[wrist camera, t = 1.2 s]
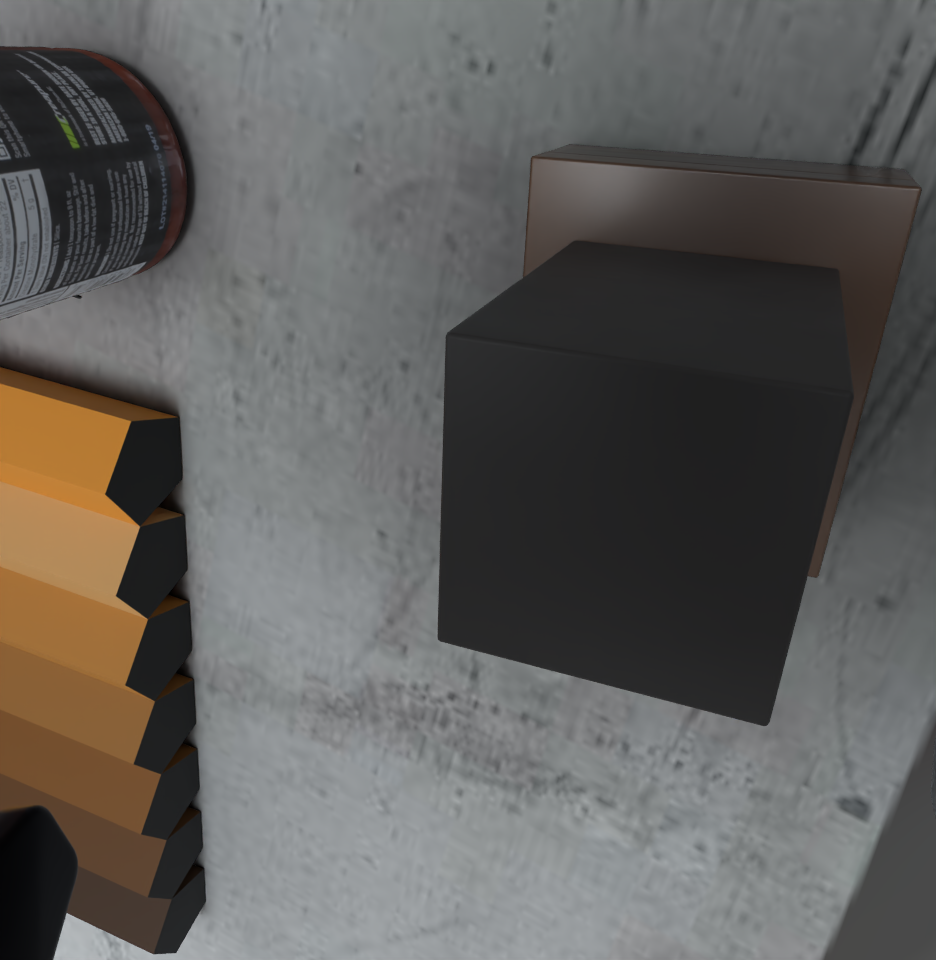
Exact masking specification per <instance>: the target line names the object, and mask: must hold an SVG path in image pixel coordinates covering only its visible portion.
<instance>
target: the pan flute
mask: <svg viewBox="0 0 936 960" xmlns="http://www.w3.org/2000/svg"><path fill="white" fill-rule="evenodd" d="M181 480H182V470H181V452H180V434H179V417H176V416H172V415H169V414H165V413H162V412H158V411H155V410H151V409H148V408H144V407H140V406H137V405H133V404H130V403H126V402H123V401H119V400H116V399H112V398H108V397H105V396H101V395H98V394H94V393H91V392H87V391H84V390H80V389H76V388H73V387H69V386H66V385H62V384H59V383H55V382H52V381H48V380H44V379H41V378H37V377H34V376H30V375H27V374H23V373H20V372H16V371H12V370H9V369H5V368H2V367H0V811H1V810H3V809H5V808H9V807H14V806H26V805H42V806H44V807H46V808H47V809H48V810H49V811H50V812H51V814H52V815H53V817H54V818H55V820H56V821H57V823H58V824H59V826H60V828H61V829H62V831H63V832H64V834H65V835H66V837H67V838H68V840H69V841H70V843H71V845H72V846H73V848H74V849H75V851H76V854H77V858H78V874H77V878H76V882H75V885H74V889H73V892H72V896H71V899H70V903H69V906H68V910H67V913H68V914H70V915H72V916H74V917H76V918H79V919H81V920H83V921H85V922H87V923H89V924H91V925H93V926H95V927H97V928H100V929H102V930H104V931H106V932H108V933H110V934H112V935H114V936H116V937H118V938H120V939H123V940H125V941H127V942H129V943H131V944H133V945H135V946H137V947H139V948H141V949H144V950H146V951H148V952H150V953H152V954H166V953H176V952H177V951H178V949H179V947H180V945H181V944H182V942H183V940H184V938H185V937H186V935H187V933H188V931H189V930H190V928H191V926H192V924H193V923H194V921H195V919H196V917H197V916H198V914H199V912H200V910H201V909H202V907H203V905H204V903H205V885H204V869H203V868H200V867H198V866H196V865H193V863H194V861H195V859H196V858H197V856H198V854H199V853H200V851H201V849H202V831H201V812H199V811H197V810H195V809H192V808H190V807H188V806H189V804H190V802H191V801H192V799H193V798H194V796H195V794H196V793H197V791H198V790H199V776H198V758H197V749H196V748H193V747H191V746H188V745H185V744H183V741H184V740H185V738H186V737H187V735H188V734H189V732H190V731H191V729H192V728H193V726H194V725H195V723H196V722H195V704H194V686H193V679H191V678H188V677H185V676H183V675H180V674H177V673H176V672H177V670H178V669H179V667H180V666H181V665H182V663H183V662H184V661H185V659H186V658H187V656H188V655H189V654H190V652H191V651H192V650H191V632H190V614H189V602H188V601H185V600H182V599H179V598H176V597H173V596H170V595H168V593H169V592H170V591H171V590H172V588H173V587H174V586H175V585H176V583H177V582H178V581H179V580H180V578H181V577H182V576H183V574H184V573H185V572H186V571H187V560H186V542H185V524H184V515H182V514H179V513H176V512H173V511H169V510H166V509H163V508H160V507H158V506H159V505H160V504H161V502H162V501H163V500H164V499H165V498H166V497H167V496H168V495H169V493H170V492H171V491H172V490H173V489H174V488H175V487H176V485H177V484H178V483H179V482H180V481H181Z"/></svg>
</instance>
